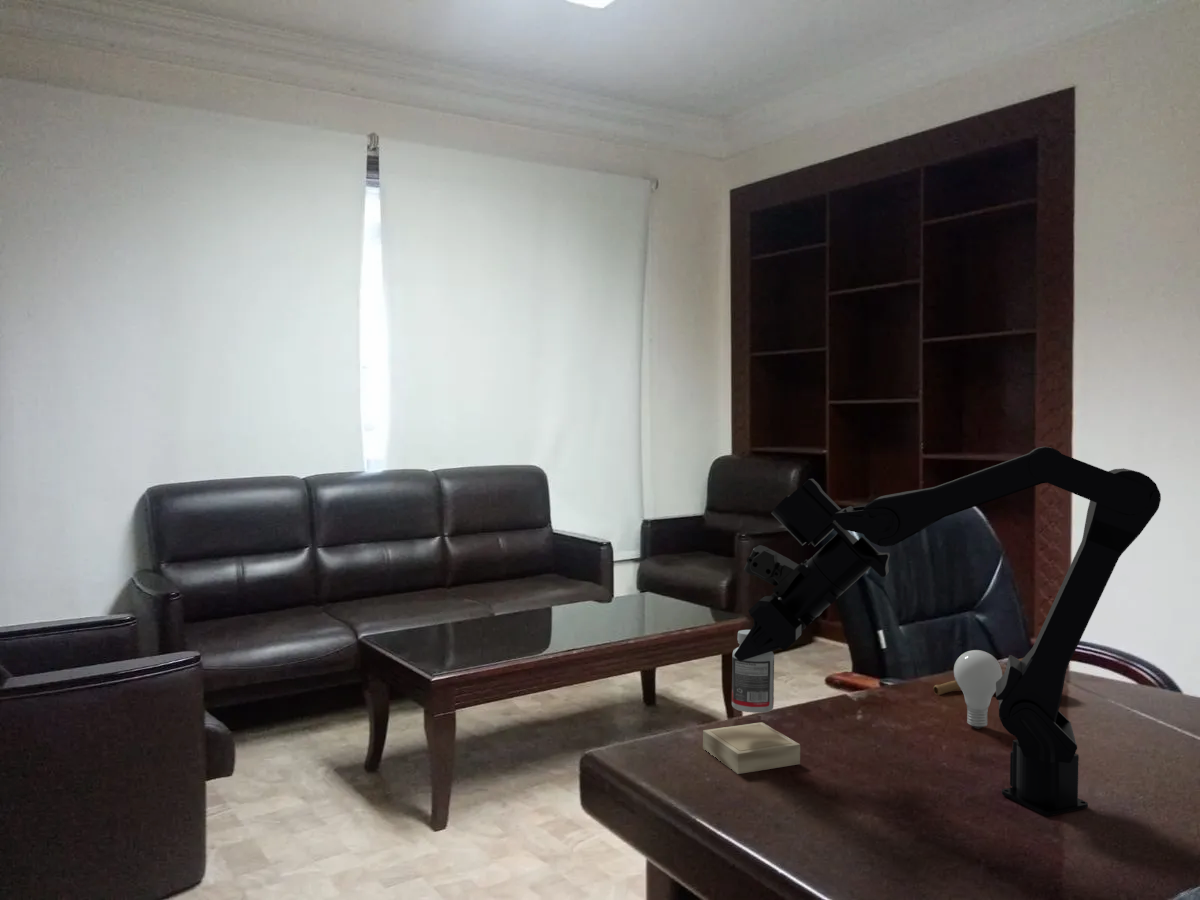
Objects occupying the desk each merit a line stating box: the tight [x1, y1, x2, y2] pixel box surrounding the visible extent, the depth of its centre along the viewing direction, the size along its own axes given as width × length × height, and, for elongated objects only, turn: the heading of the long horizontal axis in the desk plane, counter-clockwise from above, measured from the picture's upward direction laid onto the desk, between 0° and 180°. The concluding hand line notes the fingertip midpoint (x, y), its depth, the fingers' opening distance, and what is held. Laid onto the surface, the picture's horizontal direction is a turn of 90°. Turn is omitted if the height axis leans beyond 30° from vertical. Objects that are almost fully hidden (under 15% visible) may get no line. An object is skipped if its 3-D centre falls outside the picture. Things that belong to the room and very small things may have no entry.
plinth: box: [702, 721, 801, 775], centre depth 113 cm, size 9×9×3 cm
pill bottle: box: [731, 629, 775, 714], centre depth 113 cm, size 5×5×10 cm
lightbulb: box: [953, 649, 1003, 729], centre depth 124 cm, size 6×6×11 cm
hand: (742, 652), depth 114 cm, fingers closed on pill bottle, 5 cm apart
